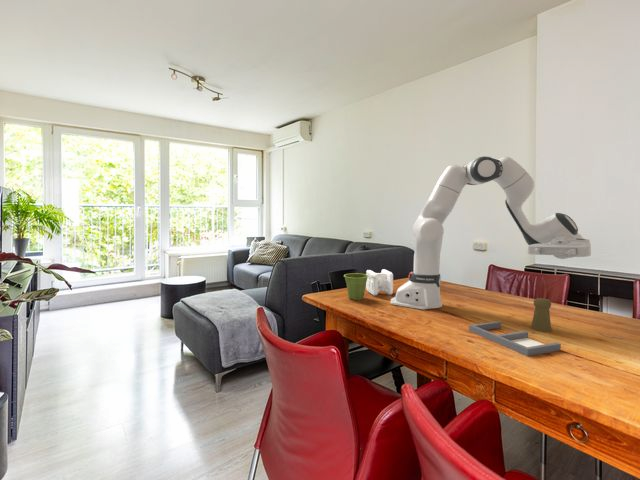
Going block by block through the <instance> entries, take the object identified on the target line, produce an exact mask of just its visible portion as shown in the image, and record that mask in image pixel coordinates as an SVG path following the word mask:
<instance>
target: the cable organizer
mask: <svg viewBox="0 0 640 480" xmlns="http://www.w3.org/2000/svg"><path fill="white" fill-rule="evenodd" d="M365 272H366V273H365V274H366V275H368V277H367V282H366V286H365V290H366V291H367V292H368V293H370V294H371V295H372V296H374V297H375V296H378V294H379V293H380V292H383V293H386V294H387V295H389V296H391V295H392V294H394V274H393V272H392V271H389V270H387V269H385V268H383V269H381V272H374V271H373V270H371V269H367V270H366V271H365Z"/></svg>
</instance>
